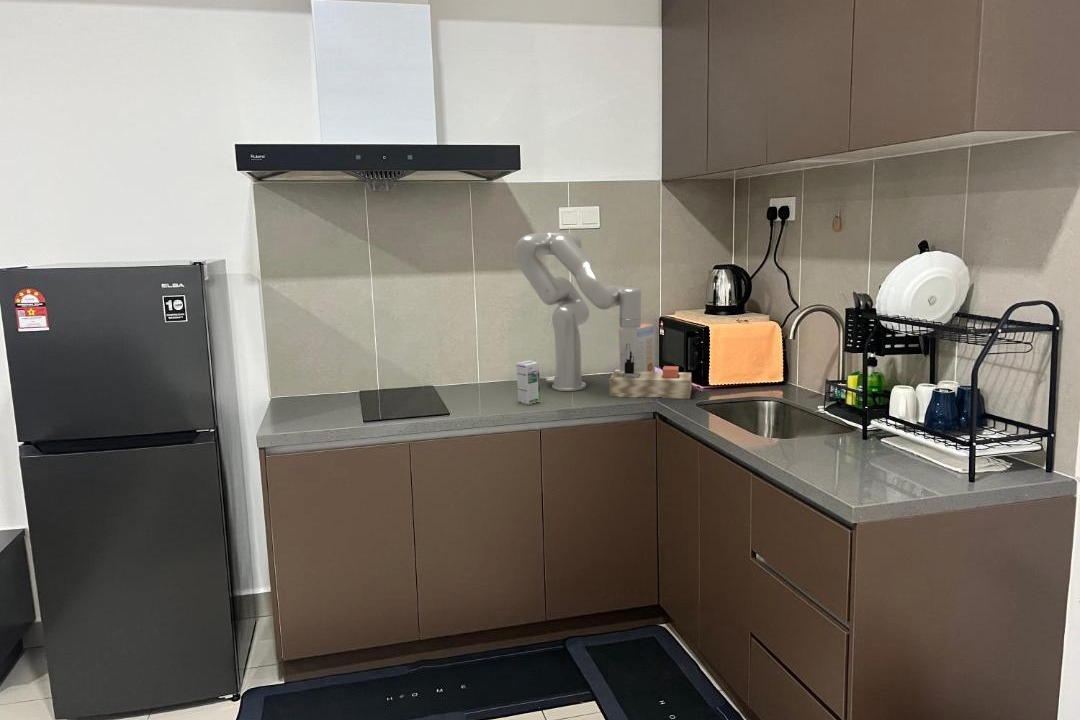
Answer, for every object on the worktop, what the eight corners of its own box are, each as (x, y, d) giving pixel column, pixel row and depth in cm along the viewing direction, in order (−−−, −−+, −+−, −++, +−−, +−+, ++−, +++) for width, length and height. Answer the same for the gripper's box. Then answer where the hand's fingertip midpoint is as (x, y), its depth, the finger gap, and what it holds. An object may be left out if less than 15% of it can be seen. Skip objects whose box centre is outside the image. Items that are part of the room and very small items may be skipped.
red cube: (662, 382, 278) (662, 369, 277) (663, 378, 282) (663, 366, 281) (677, 382, 276) (677, 369, 275) (678, 379, 281) (678, 366, 280)
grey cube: (623, 389, 281) (623, 377, 280) (625, 386, 286) (624, 373, 285) (637, 390, 280) (637, 377, 279) (639, 386, 285) (639, 373, 284)
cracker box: (643, 375, 309) (643, 322, 305) (655, 377, 305) (655, 324, 300) (619, 381, 300) (618, 327, 296) (630, 384, 296) (629, 329, 292)
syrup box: (528, 405, 272) (526, 364, 269) (517, 402, 277) (516, 362, 274) (541, 402, 276) (539, 362, 273) (530, 399, 280) (528, 359, 277)
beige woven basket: (609, 396, 280) (609, 379, 278) (614, 388, 291) (614, 371, 290) (689, 398, 273) (690, 380, 272) (691, 390, 285) (691, 372, 283)
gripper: (622, 318, 286) (621, 367, 290) (616, 326, 272) (616, 377, 276) (642, 319, 284) (641, 368, 289) (638, 326, 270) (637, 378, 274)
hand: (629, 372), depth 282 cm, fingers closed
